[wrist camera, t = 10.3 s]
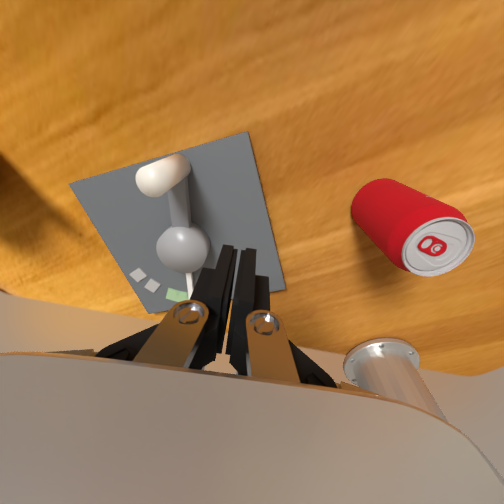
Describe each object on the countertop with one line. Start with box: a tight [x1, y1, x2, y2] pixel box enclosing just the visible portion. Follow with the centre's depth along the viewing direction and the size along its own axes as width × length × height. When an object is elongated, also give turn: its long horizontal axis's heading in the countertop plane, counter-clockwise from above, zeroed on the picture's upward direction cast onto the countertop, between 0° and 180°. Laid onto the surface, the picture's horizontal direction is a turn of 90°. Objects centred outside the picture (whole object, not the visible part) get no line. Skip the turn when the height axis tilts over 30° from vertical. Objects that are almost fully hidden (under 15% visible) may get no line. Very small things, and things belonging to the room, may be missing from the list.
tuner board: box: [69, 131, 286, 314], centre depth 32 cm, size 21×22×1 cm
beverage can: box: [351, 179, 475, 276], centre depth 24 cm, size 6×6×12 cm
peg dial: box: [136, 154, 210, 300], centre depth 28 cm, size 22×6×8 cm, turn 178°
